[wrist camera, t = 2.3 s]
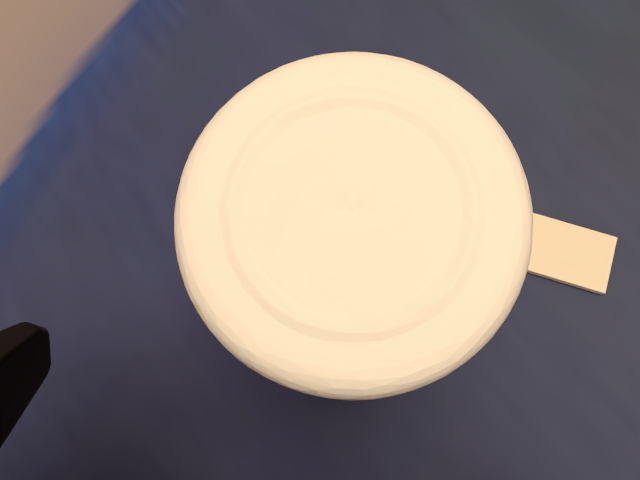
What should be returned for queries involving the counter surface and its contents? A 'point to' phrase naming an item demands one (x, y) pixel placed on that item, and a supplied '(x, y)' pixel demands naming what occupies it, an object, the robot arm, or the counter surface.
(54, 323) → the counter surface
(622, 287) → the counter surface
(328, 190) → the sprinkles bottle
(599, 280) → the thin cream strip
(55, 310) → the counter surface
